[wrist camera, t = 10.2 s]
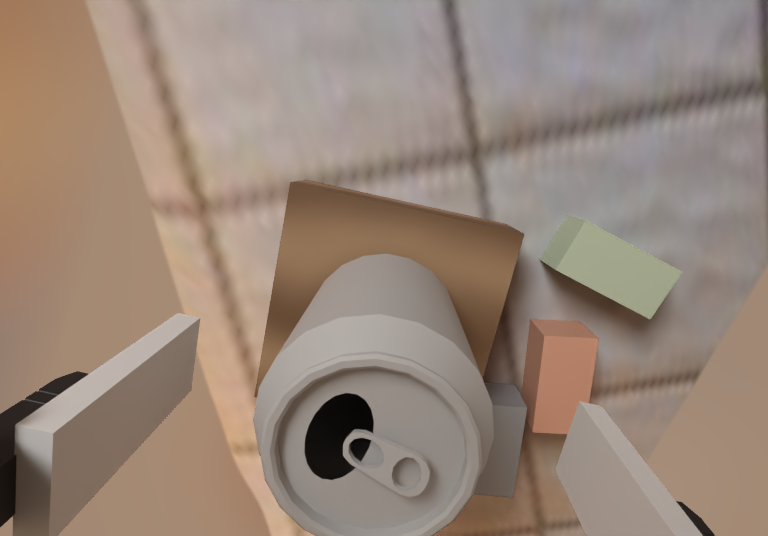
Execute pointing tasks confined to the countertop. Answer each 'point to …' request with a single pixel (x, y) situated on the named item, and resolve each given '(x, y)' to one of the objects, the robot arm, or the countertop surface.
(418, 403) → the can
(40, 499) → the robot arm
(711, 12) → the countertop surface
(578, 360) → the brick terracotta
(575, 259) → the brick sage
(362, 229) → the walnut block
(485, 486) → the brick slate
